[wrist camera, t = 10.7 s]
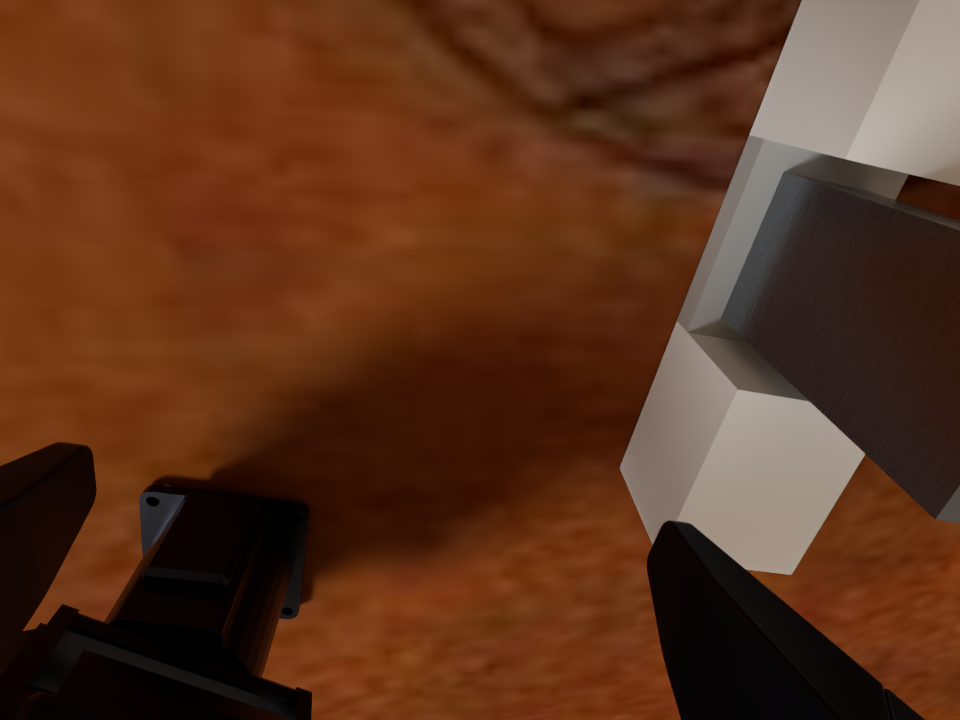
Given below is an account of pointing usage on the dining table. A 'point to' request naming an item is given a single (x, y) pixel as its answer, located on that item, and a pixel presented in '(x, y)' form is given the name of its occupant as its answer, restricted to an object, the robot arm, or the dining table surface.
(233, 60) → the dining table surface
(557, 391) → the dining table surface
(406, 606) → the dining table surface
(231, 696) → the robot arm
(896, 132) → the white block dumbbell
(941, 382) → the grey brushed metal block
